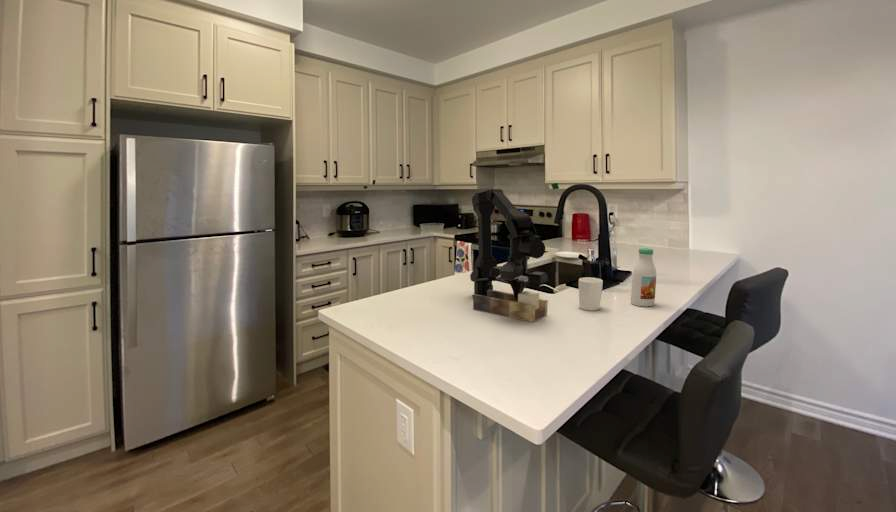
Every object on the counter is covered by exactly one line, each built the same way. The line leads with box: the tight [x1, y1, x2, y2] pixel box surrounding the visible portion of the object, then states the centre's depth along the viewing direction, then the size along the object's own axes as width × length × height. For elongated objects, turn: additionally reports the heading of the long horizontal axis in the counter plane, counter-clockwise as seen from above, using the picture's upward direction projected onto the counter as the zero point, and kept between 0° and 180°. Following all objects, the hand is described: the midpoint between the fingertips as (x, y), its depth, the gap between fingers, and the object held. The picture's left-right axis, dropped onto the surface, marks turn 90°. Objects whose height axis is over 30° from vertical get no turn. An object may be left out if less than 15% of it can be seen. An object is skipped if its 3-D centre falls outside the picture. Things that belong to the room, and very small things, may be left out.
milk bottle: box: [630, 247, 657, 308], centre depth 148 cm, size 8×8×20 cm
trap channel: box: [472, 289, 549, 323], centre depth 142 cm, size 23×10×5 cm, turn 51°
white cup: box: [578, 277, 604, 311], centre depth 145 cm, size 8×8×10 cm
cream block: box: [518, 290, 540, 310], centre depth 137 cm, size 5×5×5 cm
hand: (517, 299), depth 140 cm, fingers closed
